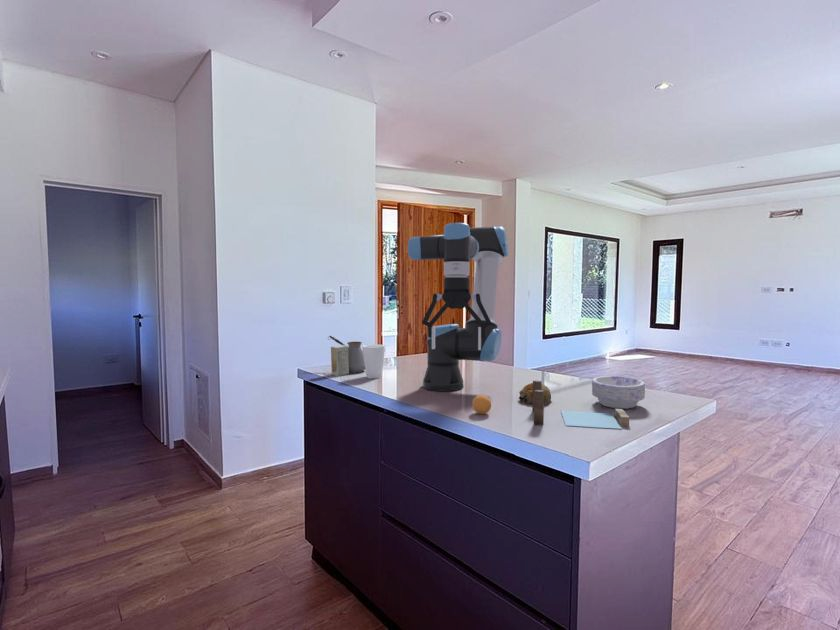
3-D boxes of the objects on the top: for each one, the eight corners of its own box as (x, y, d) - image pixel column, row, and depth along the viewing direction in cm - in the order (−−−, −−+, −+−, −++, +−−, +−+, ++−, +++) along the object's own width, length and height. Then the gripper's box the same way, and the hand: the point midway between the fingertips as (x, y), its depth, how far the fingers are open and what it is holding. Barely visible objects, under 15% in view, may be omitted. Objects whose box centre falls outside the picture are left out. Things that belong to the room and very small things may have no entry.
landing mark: (560, 411, 133) (560, 410, 133) (610, 414, 130) (610, 413, 130) (565, 426, 120) (565, 425, 120) (621, 429, 117) (621, 428, 117)
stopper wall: (614, 417, 127) (615, 408, 127) (622, 417, 127) (622, 409, 127) (621, 425, 120) (621, 416, 119) (629, 426, 119) (629, 417, 119)
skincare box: (343, 372, 194) (342, 344, 193) (349, 374, 191) (348, 345, 190) (330, 374, 190) (330, 346, 189) (336, 376, 186) (336, 347, 186)
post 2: (533, 421, 123) (533, 389, 123) (543, 422, 123) (543, 390, 122) (533, 424, 121) (534, 392, 120) (543, 425, 120) (544, 392, 120)
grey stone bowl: (584, 406, 139) (584, 381, 139) (601, 396, 151) (601, 373, 150) (636, 415, 129) (637, 388, 129) (650, 404, 141) (651, 379, 140)
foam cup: (384, 379, 180) (384, 347, 179) (361, 379, 180) (361, 347, 179) (386, 374, 190) (386, 344, 189) (364, 374, 190) (364, 344, 189)
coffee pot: (373, 370, 199) (372, 337, 198) (356, 374, 190) (355, 339, 189) (338, 365, 211) (337, 334, 210) (320, 369, 201) (319, 336, 200)
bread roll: (546, 417, 140) (558, 395, 139) (516, 402, 142) (527, 380, 141) (544, 408, 150) (555, 387, 149) (516, 394, 152) (526, 373, 150)
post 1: (532, 409, 136) (532, 380, 135) (541, 409, 135) (541, 380, 135) (532, 411, 133) (532, 382, 133) (541, 412, 133) (541, 382, 132)
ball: (473, 410, 135) (473, 392, 134) (491, 411, 134) (491, 393, 133) (471, 415, 129) (471, 397, 129) (490, 416, 128) (490, 398, 128)
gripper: (412, 276, 128) (412, 349, 130) (500, 276, 125) (499, 351, 126) (416, 277, 136) (416, 346, 137) (499, 277, 132) (498, 348, 133)
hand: (456, 349), depth 131 cm, fingers open, 13 cm apart
